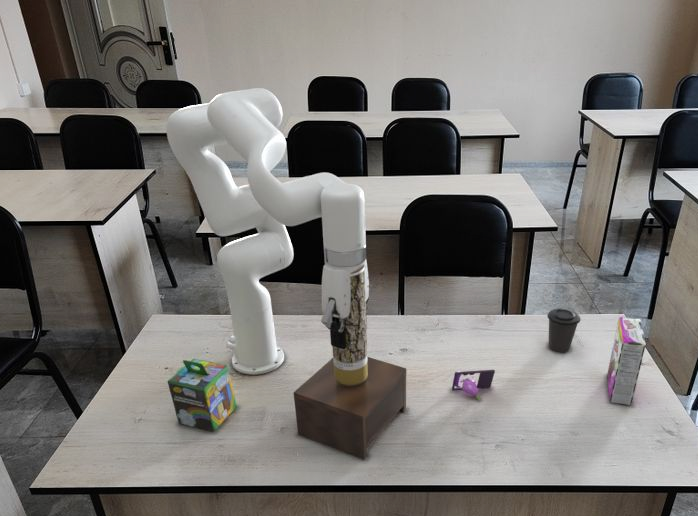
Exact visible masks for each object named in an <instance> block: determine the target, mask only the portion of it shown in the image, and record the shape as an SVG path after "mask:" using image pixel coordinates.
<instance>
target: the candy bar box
mask: <svg viewBox="0 0 698 516" xmlns="http://www.w3.org/2000/svg"><path fill="white" fill-rule="evenodd" d="M617 319H618V320H617V325H616V328H615V329H616V330H615V334H614V339H613V343H612V344H613V345H612V348H611V355H610V359H609V363H608V369H607V373H606V379H607V387H608V395H609V396H608V398H609V403H610V404H615V405H624V406H632V404H633V399H634V395H635V391H636V389H637V388H636V387H637V383H638V379H639V374H640V372H641V371H640V370H641V367H642V363H643V358H644V353H645V350H646V346H647V345H646V339H645V334H644V329H643V324H642V320H641V318H633V317H625V316H618V318H617Z"/></svg>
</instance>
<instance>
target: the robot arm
mask: <svg viewBox="0 0 698 516" xmlns="http://www.w3.org/2000/svg"><path fill="white" fill-rule="evenodd" d="M283 114H284V113H283V108H282V105H281V103H280V100H279V99H278V98H277V96H276V95H274V93H273V92H271V91H270V90H268V89H266V88H263V87H254V88H248V89H247V88H246V89H240V90H234V91H233V90H232V91H227V92H223V93H220V94H218V95H216V96H215V97H214V98H213V99H211V101H210V102H209V103H202V104H201V103H200V104H196V105H195V104H194V105H189V106H186V107H183V108H179V109H178V110H176V111H174V112H172V113H171V114H170V116H169V117H168V119H167V121H166V127H165V128H166V136H167V137H166V138H167V141H168V145H169V147H170V149H171V151H172V153H173V155H174V157H175V158H176V160H177V162H178V163H179V165H180V166H181V167H182V169H183V170H184V171H185V173H186V175H187V177H188V178H189V180H190V182H191V185H192V187H193V190H194V192H195V194H196V198H197V200H198V202H199V205H200V207H201V210H202V212H203V215H204V217H205V219H206V222H207V224H208V226H209V228H210V229H211V231H212V232H213V233H214V234H215V235H217V236H219V237H228V236H233V235H236V234H240V233H243V232H246V231H249V230H252V229H256V230H257V233H255V234H252V235H248V236H244V237H242V238H239V239H236V240H233V241H230V242H227V244H225V245H223V246H222V247H221V248H220V249H219V251H218V252H217V255H216V265H217V267H218V270H219V273H220V276H221V278H222V281H223V284H224V287H225V288H224V289H225V291H226V298H227V301H228V307H229V312H230V318H231V325H232V331H233V335H230V336H229V338H228V342H227V343H226V346H225V347H226V348H227V349H230V350H233V355H232V357H231V364H232V368H233V369H234V370H235V371H237V372H238V373H241V374H244V375H250V376H251V375H253V376H254V375H256V376H257V375H263V374H267V373H270V372H273V371H275V370H276V369H277V368H279V367H280V366H282V364H283V363H284V361H285V353H284V350H283V349H282V348H281V347H280V346H278V345H277V339H276V332H275V331H276V330H275V324H274V315H273V307H272V299H271V294H270V292H269V290H268V289H267V288H266V287H265V286H264V285H262V284H261V283H260V279H262V278H264V277H266V276H269V275H271V274H274V273H276V272H279V271H282V270H283V269H286V268H287V267H289V266H290V265H291V264H292V263H293V260H294V255H295V253H294V247H293V244H292V242H291V238H290V236H289V233H288V230H287V227H295V226H298V225H302V224H305V223H307V222H310V221H312V220H316V219H319V218H321V225H322V238H323V240H322V241H323V242H322V243H323V254H324V255H323V256H324V257H323V258H324V265H323V267H322V275H321V310H322V314H323V315H322V316H321V320H320V321H321V323H322V324H323V325H324V326H325V327H326V328H327V329H328V330H329V336H330V345H331V347H332V346H334V347H337V348H341V349H345V348H346V331H345V330H343V329H344V324H345V318H346V317H348V316H349V313H350V303H351V287H350V273H352V272H354V271H355V270H357V269H358V268H360V267H361V266H363V265H364V268H365V298H366V313H367V312H368V311H369V309H368V308H369V306H368V302H369V300H370V294H371V290H372V285H371V284H370V281H369V270H368V263H367V241H366V240H367V237H366V235H367V234H366V205H365V204H366V201H365V200H366V199H365V193H364V190H363V189H362V188H361V187H360V186H359V185H358V184H354V183H351V182H350V183H349V182H345V181H344V180H342V179H341V178H339V177H338V176H337V175H335V174H333V173H330V172H318V173H314V174H312V175H306V176H303V177H299V178H296V179H292V180H288V181H285V182H281V181H280V180H279V179H278V178H276V177H275V176H274V174H272V173H271V171H272V170H273V169H275V167H277V165H278V164H279V163H280V162H281V161H282V159H283V157H284V155H285V153H286V150H287V141H286V138H285V135H284V134H283V132H281V131H280V130H279V129H278V128H279V127H280V126H281V124H282V121H283V117H284V116H283ZM224 145H225V146H226V145H228V146H230V147H231V148H232V149H233V150H234V151H235V152H236V153H237V154H238V155H239V156H240V157H241V158H242V159H243V160H244V161H245V162H246V163H247V166H246V167H247V169H246V176H247V182H248V184H245V185H240V186H237V184H236V182H235V181H234V179H233V176H232V173H231V170H230V168H229V166H228V165H227V164H226V163H225V161H223V160H222V159H221V158H220V157H219V156H218V155H216V154H215V153H213V152H212V151H210V150H209V149H210V148H214V147H220V146H224ZM286 226H287V227H286ZM336 309H337V312H338V313H339V314H340V315H338V314H335V313H334V312H335V310H336ZM335 317H336V318H340V321H339V325H338V324H337V323H335ZM367 330H368V323H367V318H366V331H367Z"/></svg>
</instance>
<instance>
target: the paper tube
mask: <svg viewBox="0 0 698 516" xmlns="http://www.w3.org/2000/svg"><path fill="white" fill-rule="evenodd" d="M350 287H351V303H350V313H349V316H348V317H346V318H345V324H344V329H343V330H345V331H346V348H345V349H341V348H337V347H334V346H332V345H331V348H332V358H333V362H334V376H335V379H336V380H337V382H339V383H340V384H342V385H346V386H355V385H359V384H361V383H363V382H364V381H365V380H366V378H367V376H368V368H367V357H368V333H367V330H366V319H367V312H366V298H365V268H364V265H363V266H361V267H360V268H358V269H357V270H355V271H354V272H352V273H350ZM334 313H335V314H338V315H340V314H339V313H338V312H337V309H336V310H335V312H334ZM339 321H340V318H336V317H335V323H337V324H338V325H339Z"/></svg>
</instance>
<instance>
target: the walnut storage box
mask: <svg viewBox="0 0 698 516" xmlns="http://www.w3.org/2000/svg"><path fill="white" fill-rule="evenodd" d="M367 368H368V376H367V378H366V380H365V381H364V382H363V383H361V384H359V385H355V386H346V385H342V384H340V383H339V382H337V380H336V379H335V376H334V362H333V357H331V358H330V359H329V360H328V361H327V362H326V363H325V364H324V365H322V367H321V368H319V369H318V370H317V371H316V372H315V373H313V374H312V375H311V376H310V377H309V378H308V379H307V380H305V381H304V383H302V384H301V385H300V386H299V387H297V389H296V390H295V391H293V401H294V409H295V418H296V427H297V435H298V436H300V437H302V438H306V439H308V440H311V441H313V442H316V443H319V444H322V445H324V446H327V447H329V448H332V449H334V450H337V451H340V452H343V453H345V454H347V455H350V456H354V457H357V459H358V458H359V459H361V460H363V461H365V460H366V458H367V457H368V448H369V447H370V446H371V445H372V444H373V443H374V442H375V440H376V439H377V438H378V437H379V435H381V433H382V432H383V431H384V429H386V427H387V426H388V425H389V424H390V422H391V421H392V420H393V419H394V418H395V416H396V415H397V414H398V413H399V412H401V413H405V411H406V410H407V368H406V367H403V366H400V365H396V364H393V363H390V362H386V361H383V360H380V359H376V358H374V357H370V356H367Z"/></svg>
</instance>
